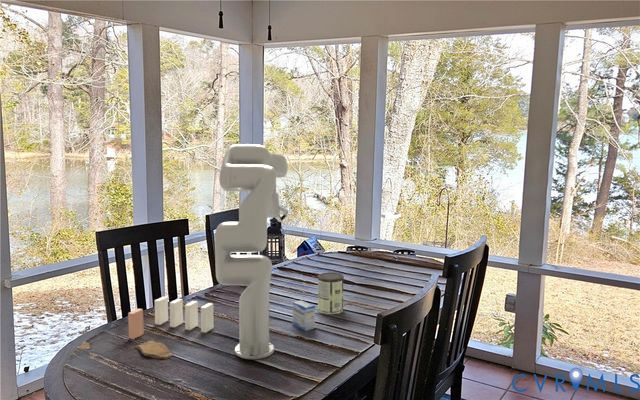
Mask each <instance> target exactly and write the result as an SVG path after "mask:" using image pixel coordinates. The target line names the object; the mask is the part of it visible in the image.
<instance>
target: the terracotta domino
mask: <svg viewBox="0 0 640 400" xmlns="http://www.w3.org/2000/svg"><path fill="white" fill-rule="evenodd" d="M127 318H128V319H127V320H128V321H127V322H128V339H129V338H130V340H136V339H137V337H138V338H139V337H141V336H143V335H144V334H145V333H144V331H145V329H144V309H143V308H136V309H134V310H132V311H129V312H128V313H127ZM135 338H136V339H135Z"/></svg>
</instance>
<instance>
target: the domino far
mask: <svg viewBox="0 0 640 400" xmlns="http://www.w3.org/2000/svg"><path fill="white" fill-rule="evenodd" d="M167 322H169V297H168V296H161V297H159V298H157V299H154V323H155V324H154V325H158V326H161V325H163V324H165V323H167Z"/></svg>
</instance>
